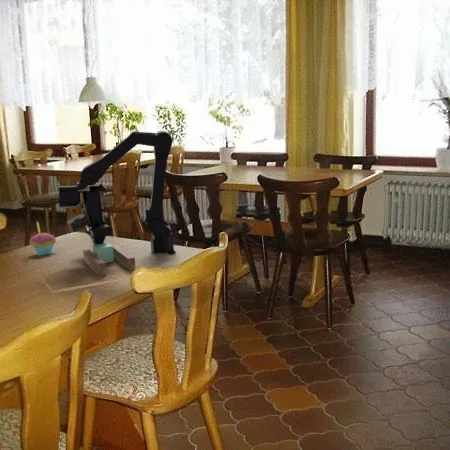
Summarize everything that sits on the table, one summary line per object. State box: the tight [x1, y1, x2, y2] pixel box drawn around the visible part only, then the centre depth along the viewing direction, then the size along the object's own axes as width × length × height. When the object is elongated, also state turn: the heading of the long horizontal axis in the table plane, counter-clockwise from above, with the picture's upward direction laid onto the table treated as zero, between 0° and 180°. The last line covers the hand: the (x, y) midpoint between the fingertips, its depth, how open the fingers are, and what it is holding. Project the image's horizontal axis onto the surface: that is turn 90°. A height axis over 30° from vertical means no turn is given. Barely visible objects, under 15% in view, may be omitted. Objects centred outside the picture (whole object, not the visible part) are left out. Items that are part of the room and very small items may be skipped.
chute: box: [82, 244, 137, 277], centre depth 199 cm, size 11×18×4 cm, turn 26°
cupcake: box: [29, 220, 57, 256], centre depth 219 cm, size 9×8×12 cm
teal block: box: [92, 242, 115, 264], centre depth 204 cm, size 5×5×5 cm
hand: (98, 252), depth 210 cm, fingers closed
